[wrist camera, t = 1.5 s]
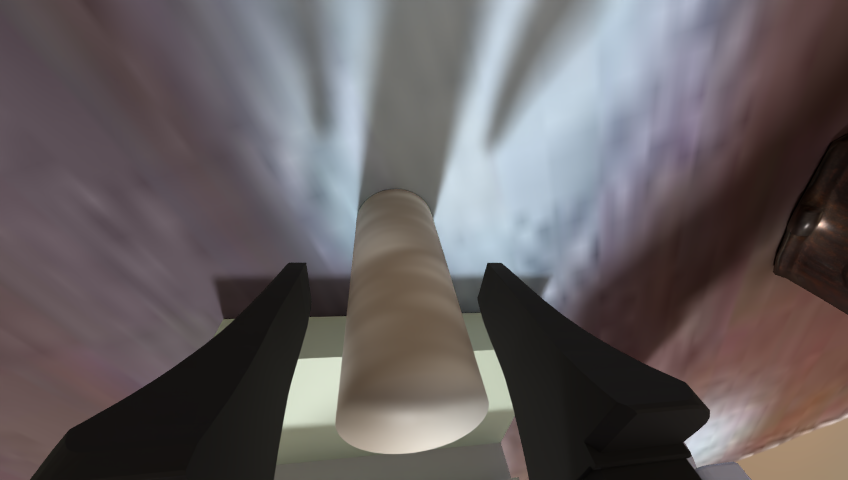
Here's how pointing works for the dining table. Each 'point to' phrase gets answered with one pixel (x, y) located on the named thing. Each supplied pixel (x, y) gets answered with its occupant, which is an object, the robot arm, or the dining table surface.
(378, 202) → the peg
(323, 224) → the dining table surface
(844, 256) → the pepper mill
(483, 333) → the socket board
